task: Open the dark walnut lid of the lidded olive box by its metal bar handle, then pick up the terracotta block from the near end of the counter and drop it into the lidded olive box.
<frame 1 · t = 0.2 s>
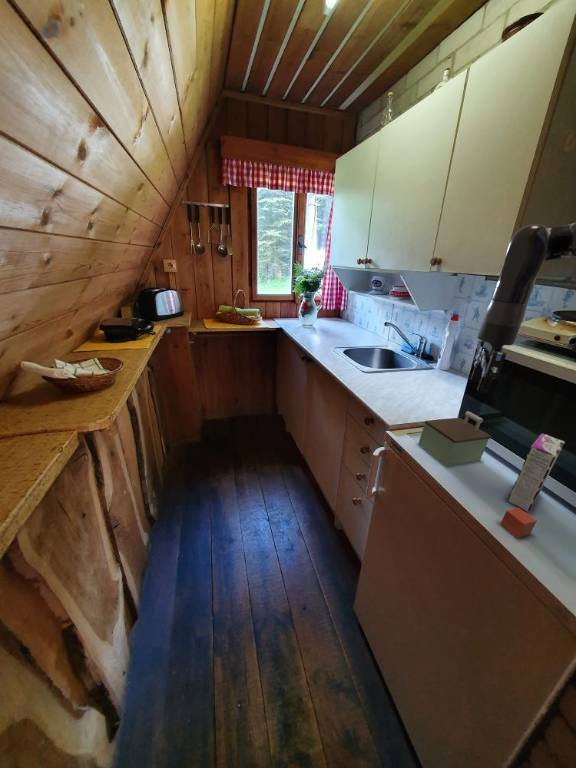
hand: (478, 386, 77), 26 cm above the counter, tool pointing down, fingers open, 8 cm apart
block: (514, 529, 68), on the counter
lid: (459, 423, 92), point 10 cm above the counter, hinge at 0.0°
lidded olive box: (448, 452, 95), on the counter
candy bar box: (522, 498, 79), on the counter
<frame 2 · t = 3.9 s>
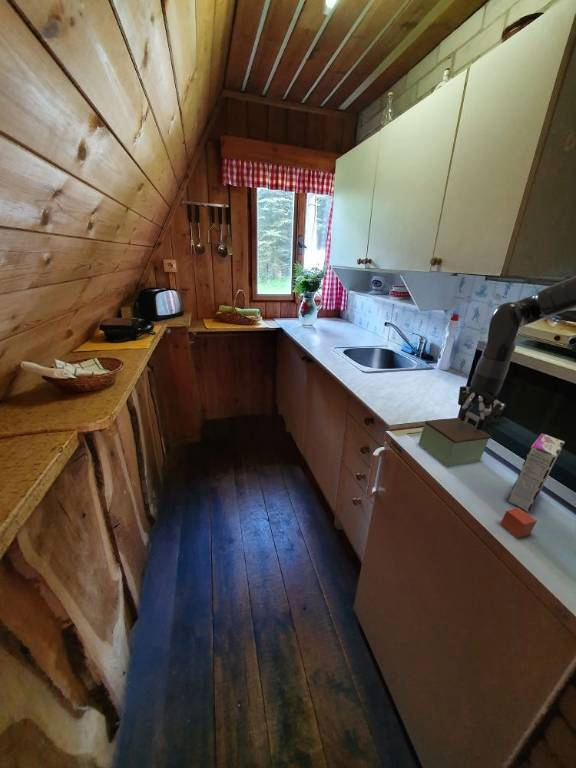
hand: (471, 424, 94), 9 cm above the counter, tool pointing down, fingers closed on lid, 5 cm apart
lid: (459, 423, 92), point 10 cm above the counter, hinge at 0.0°, touching gripper
everything else where it was.
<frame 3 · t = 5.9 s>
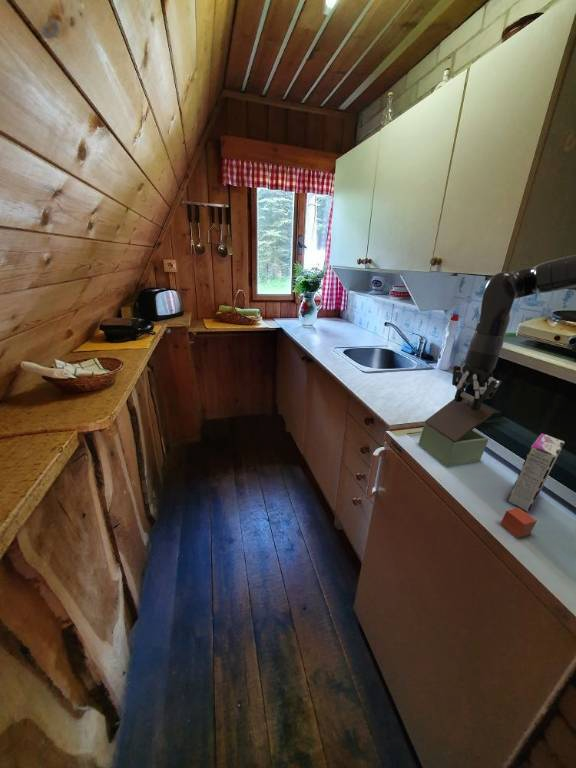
hand: (466, 405, 90), 16 cm above the counter, tool pointing down, fingers closed on lid, 5 cm apart
lid: (456, 412, 89), point 14 cm above the counter, hinge at 37.7°, touching gripper
everything else where it was.
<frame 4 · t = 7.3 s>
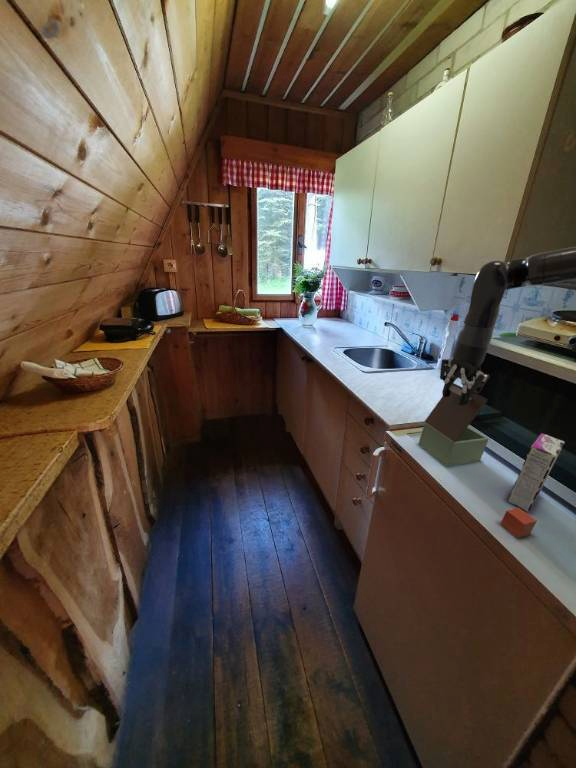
hand: (453, 400, 87), 18 cm above the counter, tool pointing down, fingers closed on lid, 5 cm apart
lid: (450, 408, 88), point 16 cm above the counter, hinge at 63.1°, touching gripper
everything else where it was.
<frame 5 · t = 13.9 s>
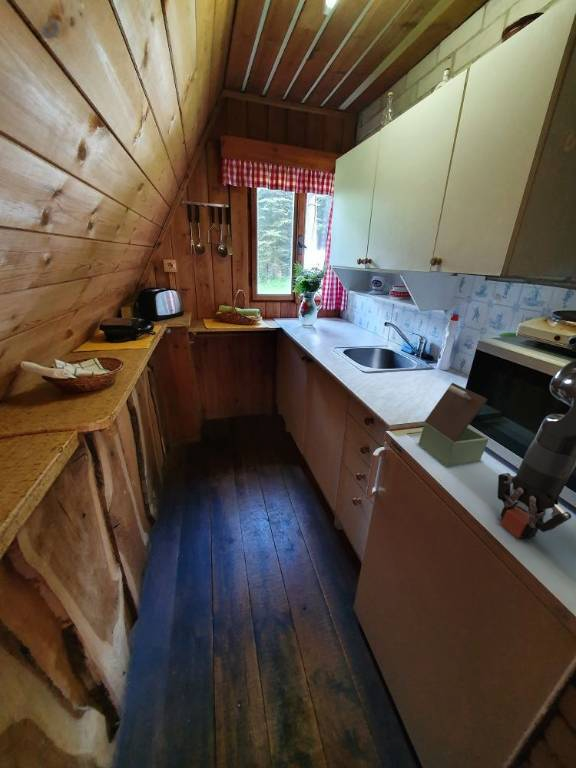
hand: (515, 528, 68), 0 cm above the counter, tool pointing down, fingers closed on block, 4 cm apart
block: (514, 529, 68), on the counter, touching gripper
lid: (449, 408, 88), point 16 cm above the counter, hinge at 63.6°
everything else where it was.
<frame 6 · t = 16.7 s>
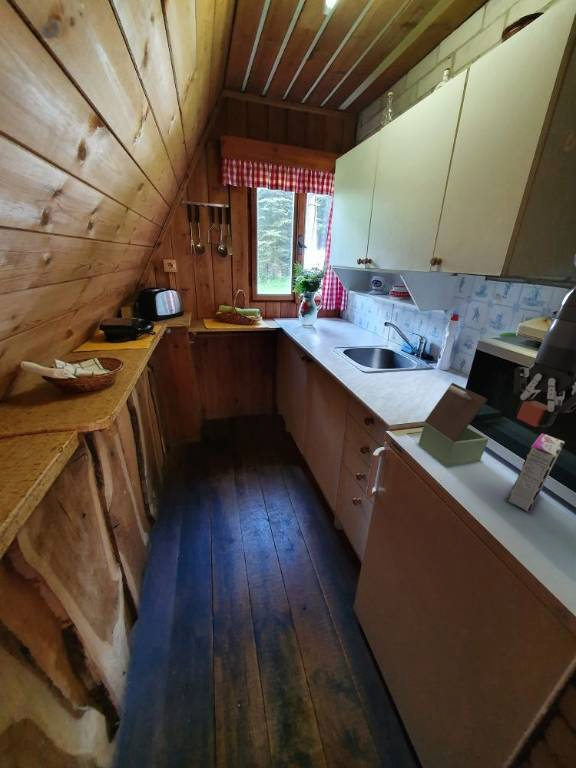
hand: (531, 420, 67), 23 cm above the counter, tool pointing down, fingers closed on block, 4 cm apart
block: (531, 421, 67), point 23 cm above the counter, touching gripper
everything else where it was.
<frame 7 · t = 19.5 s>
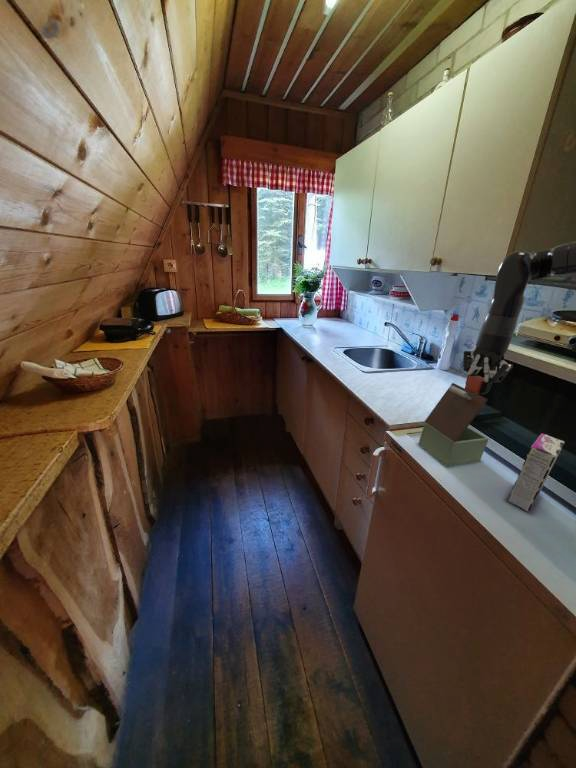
hand: (475, 390, 88), 21 cm above the counter, tool pointing down, fingers closed on block, 4 cm apart
block: (475, 391, 89), point 21 cm above the counter, touching gripper, lid
lid: (450, 408, 88), point 16 cm above the counter, hinge at 62.9°, touching block
everything else where it was.
when the fingers open (21 cm above the counter, at t = 19.5 s): block drops 20 cm, resting on lidded olive box.
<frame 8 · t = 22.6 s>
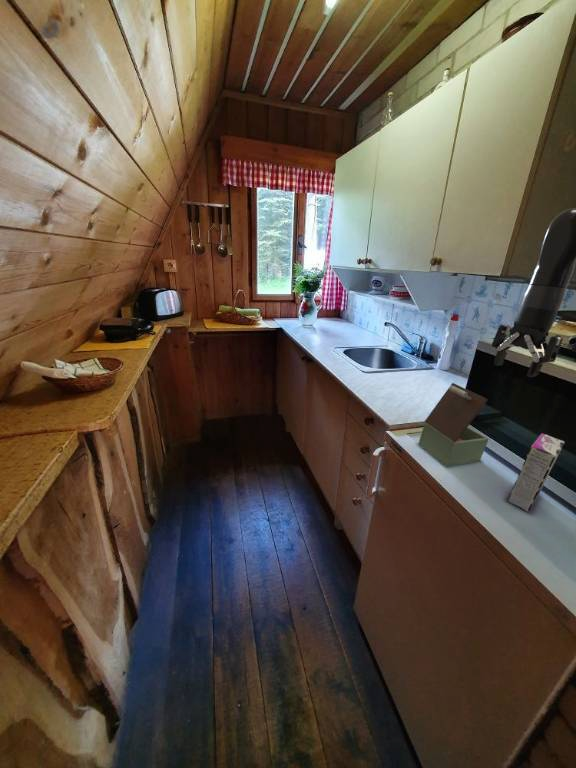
hand: (513, 370, 78), 30 cm above the counter, tool pointing down, fingers open, 8 cm apart
block: (452, 450, 96), point 1 cm above the counter, touching lidded olive box
lid: (450, 408, 88), point 16 cm above the counter, hinge at 62.9°
everything else where it was.
at the end: lid at +63° (first picture: +0°); block inside the target area in the lidded olive box (1.2 cm from its centre), point 0.8 cm above the lidded olive box's base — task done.
